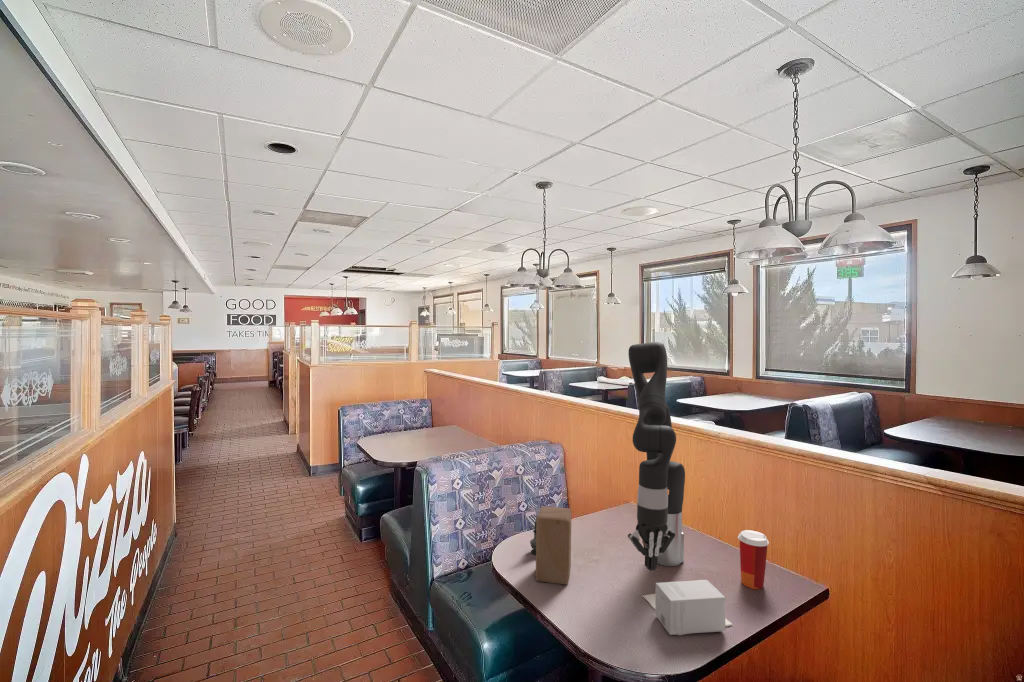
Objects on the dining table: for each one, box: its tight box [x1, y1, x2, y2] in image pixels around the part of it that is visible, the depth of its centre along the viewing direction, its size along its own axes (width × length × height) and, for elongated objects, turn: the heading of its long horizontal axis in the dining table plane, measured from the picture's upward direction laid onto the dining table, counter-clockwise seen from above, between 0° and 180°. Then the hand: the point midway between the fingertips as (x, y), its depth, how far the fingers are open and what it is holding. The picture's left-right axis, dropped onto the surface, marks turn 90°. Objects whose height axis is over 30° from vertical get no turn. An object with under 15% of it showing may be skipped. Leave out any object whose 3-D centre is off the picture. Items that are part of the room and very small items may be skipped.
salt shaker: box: [529, 520, 537, 557], centre depth 157 cm, size 6×6×12 cm
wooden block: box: [535, 505, 573, 585], centre depth 143 cm, size 10×10×20 cm
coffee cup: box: [737, 529, 770, 590], centre depth 139 cm, size 8×8×15 cm
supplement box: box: [654, 579, 727, 636], centre depth 120 cm, size 9×9×15 cm
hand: (650, 569), depth 118 cm, fingers closed
